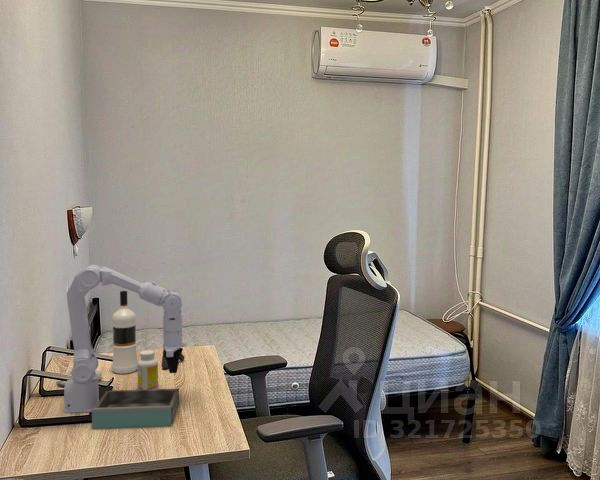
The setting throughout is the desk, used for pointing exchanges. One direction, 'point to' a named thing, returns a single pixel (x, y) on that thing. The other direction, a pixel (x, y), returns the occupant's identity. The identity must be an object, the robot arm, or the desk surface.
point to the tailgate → (131, 417)
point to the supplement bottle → (147, 371)
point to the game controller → (71, 375)
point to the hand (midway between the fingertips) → (173, 372)
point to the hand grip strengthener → (164, 362)
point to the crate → (141, 399)
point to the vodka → (124, 338)
